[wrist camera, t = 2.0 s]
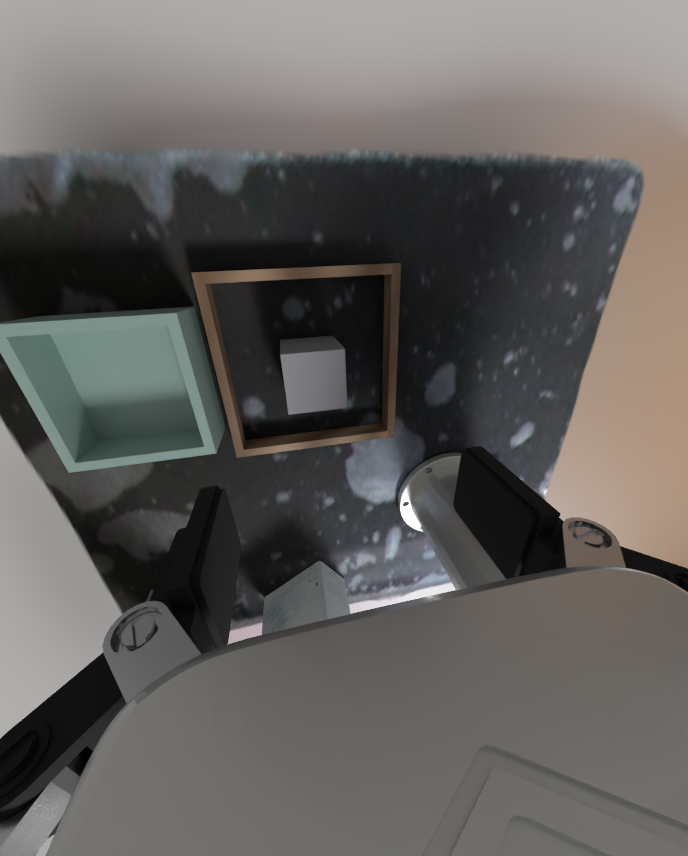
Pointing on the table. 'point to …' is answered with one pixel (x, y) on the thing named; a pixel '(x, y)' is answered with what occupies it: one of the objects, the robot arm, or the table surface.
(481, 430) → the table surface
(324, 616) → the skincare box
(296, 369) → the stone block
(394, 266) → the brown wooden frame
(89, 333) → the sage green bin
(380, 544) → the table surface
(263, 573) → the table surface
